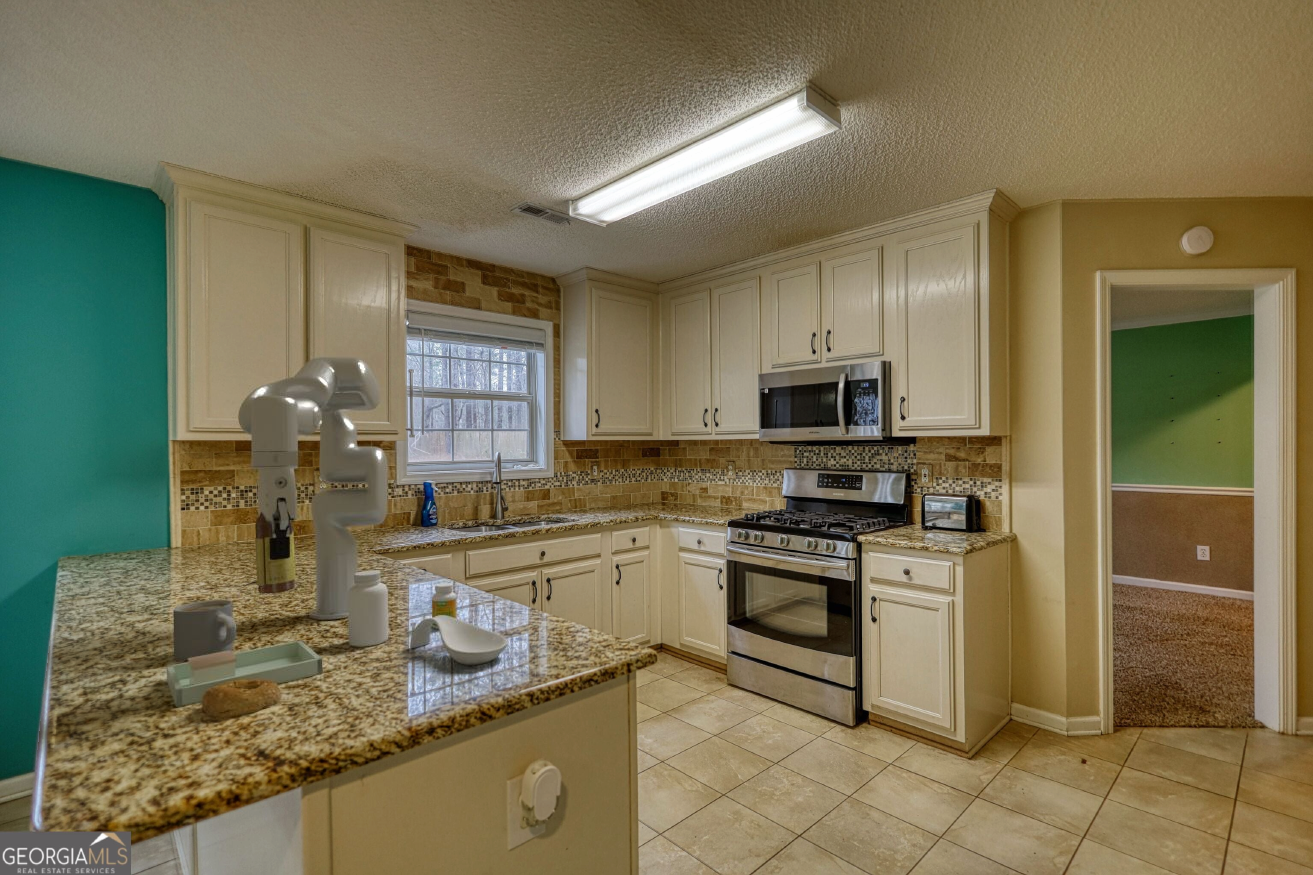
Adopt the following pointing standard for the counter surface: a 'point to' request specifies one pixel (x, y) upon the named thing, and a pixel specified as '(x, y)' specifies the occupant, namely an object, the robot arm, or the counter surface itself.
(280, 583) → the sauce bottle
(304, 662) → the pale green tray
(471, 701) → the counter surface
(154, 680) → the counter surface
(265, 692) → the bagel
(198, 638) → the coffee mug
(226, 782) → the counter surface
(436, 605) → the supplement bottle
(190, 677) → the pink lidded box
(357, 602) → the pill bottle
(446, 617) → the spoon rest
